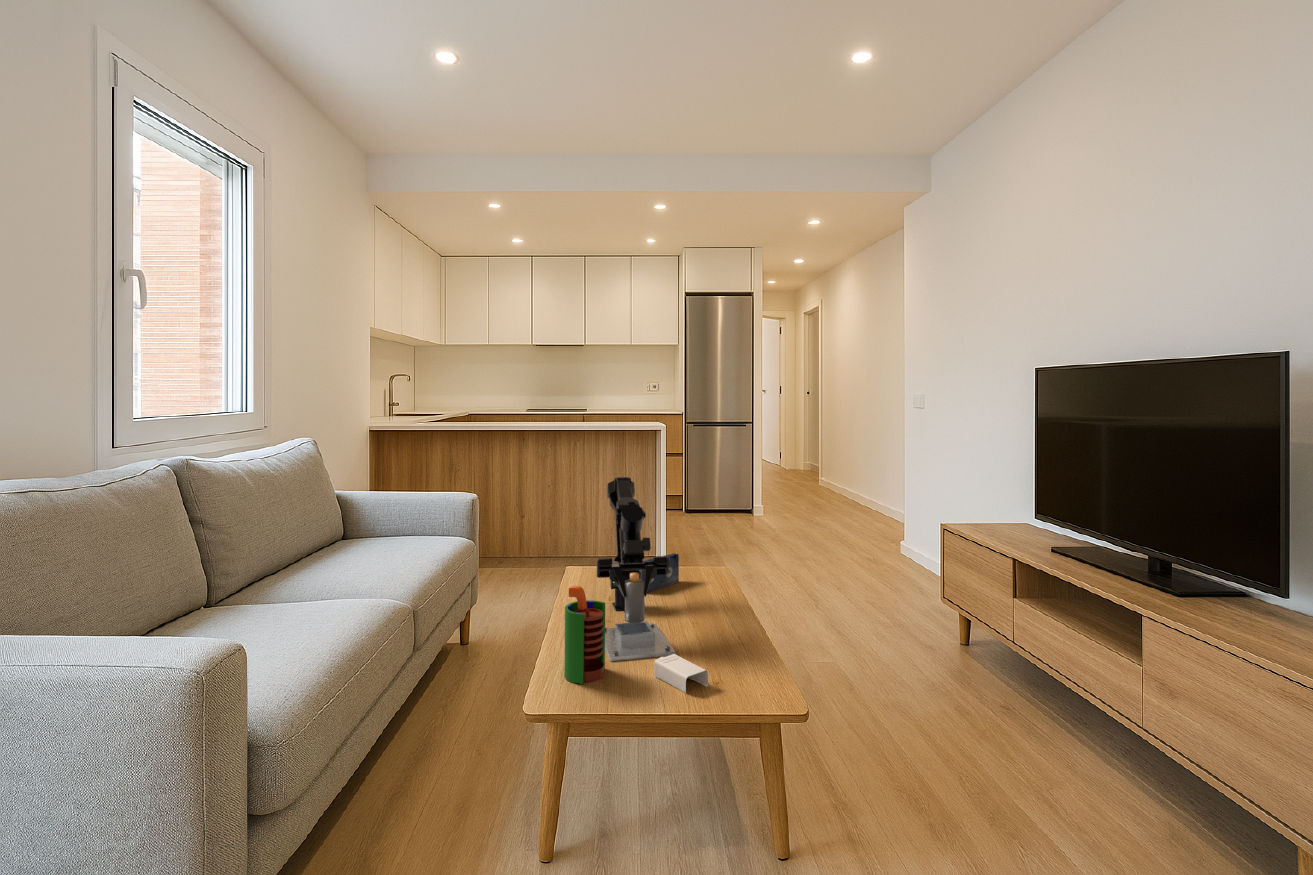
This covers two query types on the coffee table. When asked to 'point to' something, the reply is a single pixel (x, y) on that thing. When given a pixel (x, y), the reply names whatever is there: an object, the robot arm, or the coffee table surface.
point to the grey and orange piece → (634, 599)
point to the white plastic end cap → (679, 671)
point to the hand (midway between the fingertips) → (635, 596)
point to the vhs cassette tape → (664, 579)
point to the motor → (584, 638)
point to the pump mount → (636, 642)
